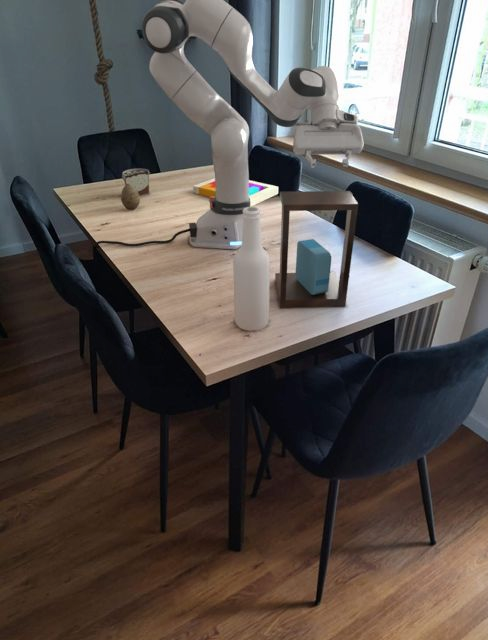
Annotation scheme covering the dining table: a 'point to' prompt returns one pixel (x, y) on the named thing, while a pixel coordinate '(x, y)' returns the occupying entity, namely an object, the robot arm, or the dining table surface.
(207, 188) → the puzzle game
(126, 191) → the decorative egg
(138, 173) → the food container
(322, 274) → the data package
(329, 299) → the shelf
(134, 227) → the dining table surface
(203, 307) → the dining table surface
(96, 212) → the dining table surface
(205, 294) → the dining table surface
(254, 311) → the alcohol
